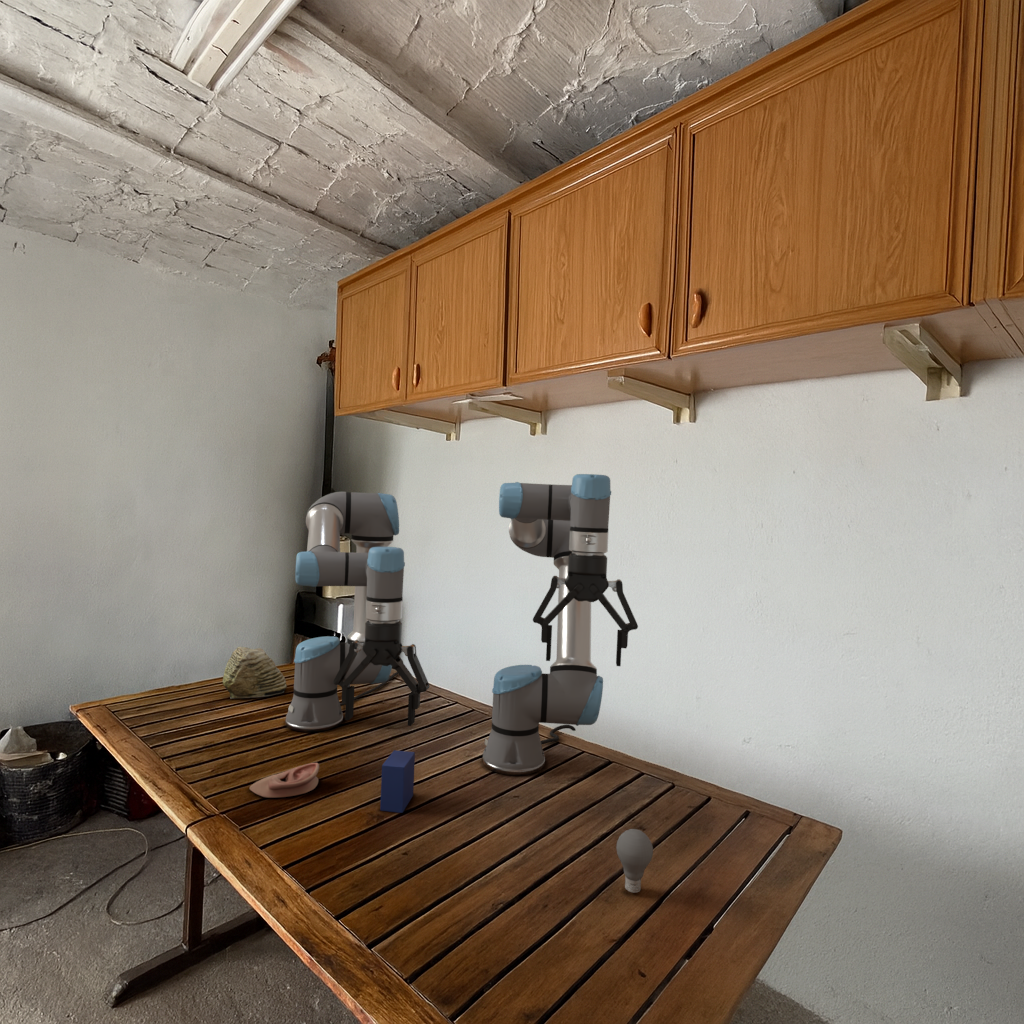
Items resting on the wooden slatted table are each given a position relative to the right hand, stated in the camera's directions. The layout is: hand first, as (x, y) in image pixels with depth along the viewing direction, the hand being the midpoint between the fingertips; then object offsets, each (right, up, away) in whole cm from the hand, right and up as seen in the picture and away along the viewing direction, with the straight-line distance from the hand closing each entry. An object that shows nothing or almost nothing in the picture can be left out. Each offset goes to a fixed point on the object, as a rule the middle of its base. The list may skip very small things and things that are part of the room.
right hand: (583, 662), depth 124 cm
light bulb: (+6, -34, -18) cm, 39 cm away
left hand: (-42, -15, +10) cm, 45 cm away
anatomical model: (-63, -30, +14) cm, 72 cm away
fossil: (-94, -28, +74) cm, 123 cm away
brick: (-38, -32, +9) cm, 50 cm away
